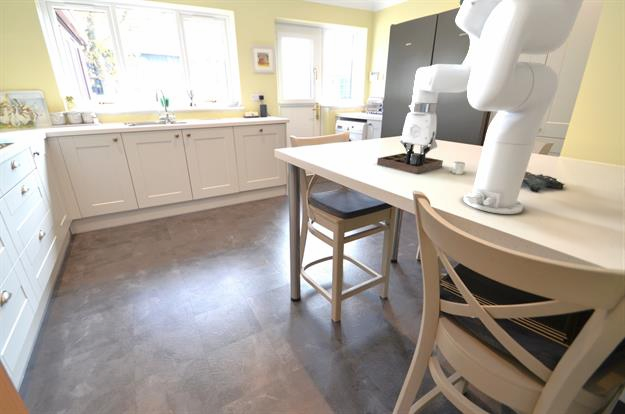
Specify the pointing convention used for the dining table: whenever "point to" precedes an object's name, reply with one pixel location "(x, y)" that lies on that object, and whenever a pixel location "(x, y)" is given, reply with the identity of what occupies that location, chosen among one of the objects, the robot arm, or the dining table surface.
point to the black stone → (413, 158)
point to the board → (400, 163)
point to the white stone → (458, 167)
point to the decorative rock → (540, 181)
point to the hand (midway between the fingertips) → (414, 163)
